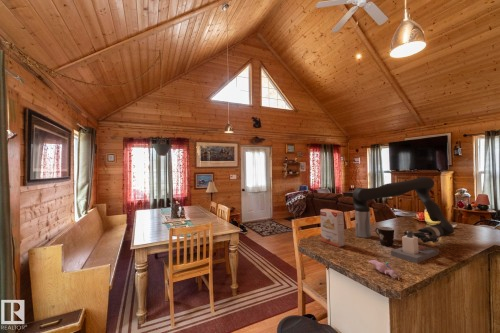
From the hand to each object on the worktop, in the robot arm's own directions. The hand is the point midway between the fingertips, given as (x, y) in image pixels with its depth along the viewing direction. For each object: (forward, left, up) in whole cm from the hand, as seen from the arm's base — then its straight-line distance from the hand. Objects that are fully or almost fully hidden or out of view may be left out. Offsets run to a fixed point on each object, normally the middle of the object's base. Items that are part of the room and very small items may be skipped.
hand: (413, 238), depth 116 cm
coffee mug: (-11, +15, -9) cm, 20 cm away
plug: (-3, -3, -9) cm, 9 cm away
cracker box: (-41, +7, -9) cm, 42 cm away
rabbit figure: (-18, -29, -9) cm, 35 cm away
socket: (0, 0, -8) cm, 8 cm away
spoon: (+33, +59, -9) cm, 68 cm away
